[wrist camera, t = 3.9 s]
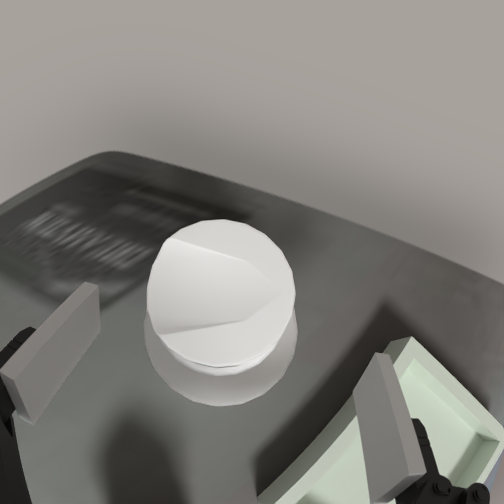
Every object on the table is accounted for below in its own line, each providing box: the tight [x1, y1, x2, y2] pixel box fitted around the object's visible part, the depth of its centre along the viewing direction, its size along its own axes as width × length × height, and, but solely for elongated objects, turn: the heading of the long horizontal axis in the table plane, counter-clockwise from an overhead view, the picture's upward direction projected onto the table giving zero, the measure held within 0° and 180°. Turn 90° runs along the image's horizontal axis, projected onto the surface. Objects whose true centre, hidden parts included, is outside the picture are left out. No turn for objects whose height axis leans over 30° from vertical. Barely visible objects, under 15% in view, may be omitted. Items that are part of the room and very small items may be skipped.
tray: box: [257, 336, 504, 504], centre depth 19 cm, size 17×17×4 cm
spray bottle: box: [144, 219, 298, 406], centre depth 15 cm, size 7×7×18 cm
